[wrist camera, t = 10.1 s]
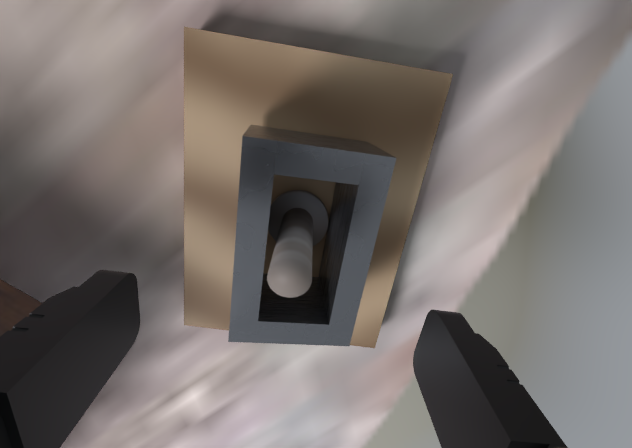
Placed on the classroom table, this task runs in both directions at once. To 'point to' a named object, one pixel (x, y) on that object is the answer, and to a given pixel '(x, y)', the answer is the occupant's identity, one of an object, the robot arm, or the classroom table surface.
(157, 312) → the classroom table surface
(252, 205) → the grey storage bin
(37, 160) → the classroom table surface
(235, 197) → the keeper board
